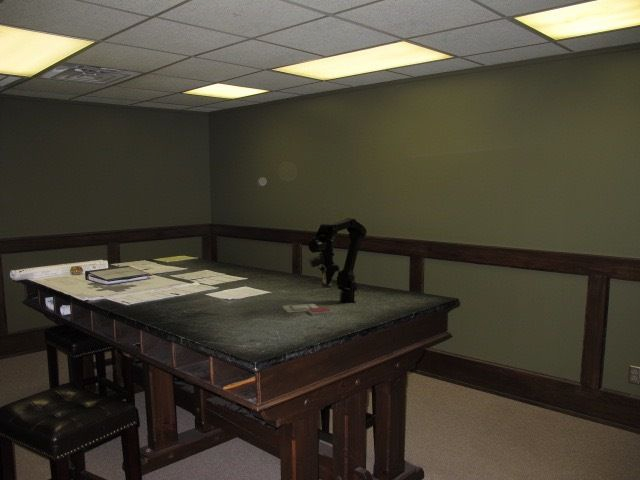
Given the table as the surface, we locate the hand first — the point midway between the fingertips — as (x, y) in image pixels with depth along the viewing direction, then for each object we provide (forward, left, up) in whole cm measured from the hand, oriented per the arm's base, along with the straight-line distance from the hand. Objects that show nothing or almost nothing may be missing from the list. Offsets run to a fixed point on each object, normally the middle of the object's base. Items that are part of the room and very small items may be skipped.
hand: (326, 283), depth 240 cm
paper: (+12, -2, -12) cm, 17 cm away
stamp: (0, 0, -2) cm, 2 cm away
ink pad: (+6, +8, -12) cm, 15 cm away
